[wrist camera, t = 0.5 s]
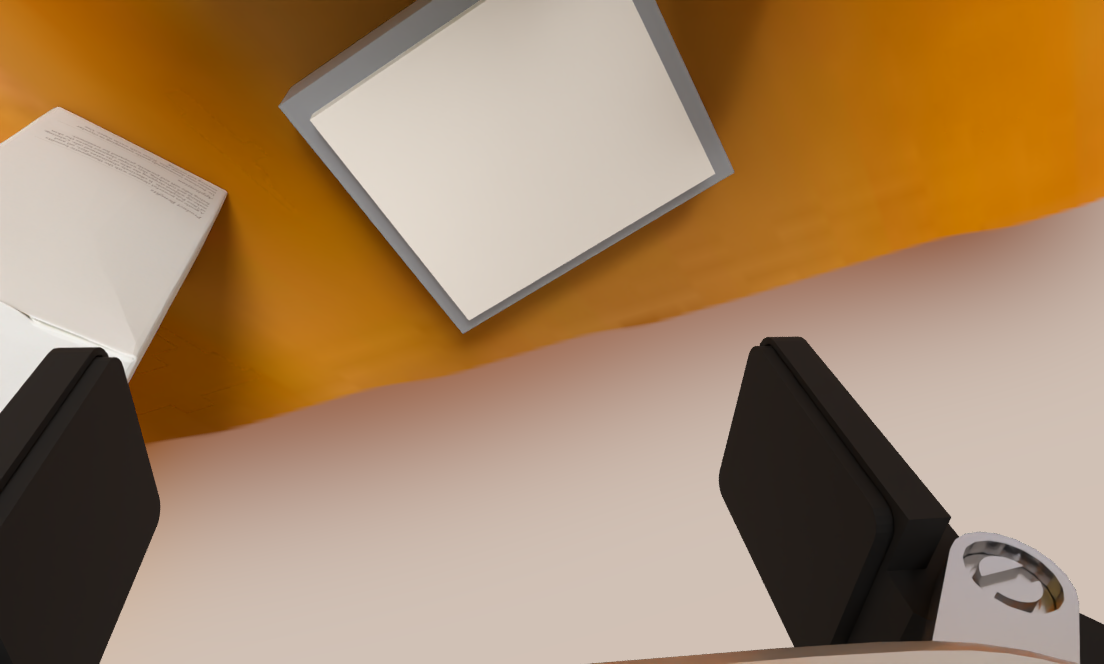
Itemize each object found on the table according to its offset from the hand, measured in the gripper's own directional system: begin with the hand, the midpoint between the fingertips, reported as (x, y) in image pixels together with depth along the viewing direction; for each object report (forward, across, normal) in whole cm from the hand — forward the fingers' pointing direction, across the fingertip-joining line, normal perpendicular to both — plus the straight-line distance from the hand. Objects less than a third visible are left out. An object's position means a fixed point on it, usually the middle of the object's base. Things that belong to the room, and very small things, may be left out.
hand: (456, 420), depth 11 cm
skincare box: (+28, +15, +7) cm, 33 cm away
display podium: (+28, -4, +3) cm, 28 cm away
